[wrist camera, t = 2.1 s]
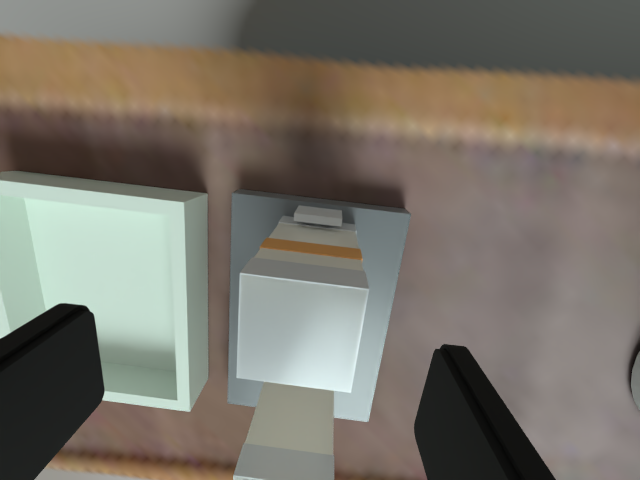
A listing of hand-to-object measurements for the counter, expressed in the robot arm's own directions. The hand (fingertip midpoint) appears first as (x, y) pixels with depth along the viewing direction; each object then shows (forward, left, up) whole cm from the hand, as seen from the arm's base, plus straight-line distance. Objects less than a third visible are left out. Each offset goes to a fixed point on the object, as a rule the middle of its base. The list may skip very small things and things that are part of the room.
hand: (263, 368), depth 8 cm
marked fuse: (-1, 0, -10) cm, 10 cm away
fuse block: (-1, +5, -11) cm, 12 cm away
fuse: (-1, +9, -10) cm, 13 cm away
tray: (+12, +5, -11) cm, 17 cm away
